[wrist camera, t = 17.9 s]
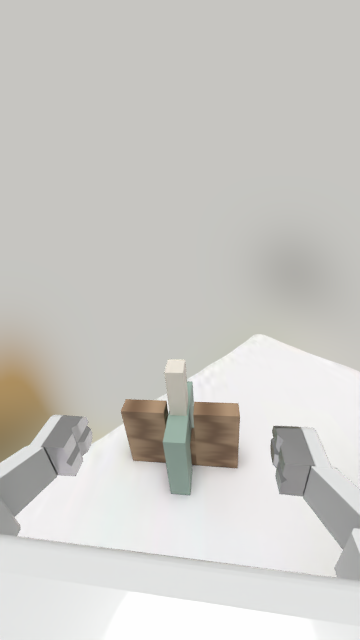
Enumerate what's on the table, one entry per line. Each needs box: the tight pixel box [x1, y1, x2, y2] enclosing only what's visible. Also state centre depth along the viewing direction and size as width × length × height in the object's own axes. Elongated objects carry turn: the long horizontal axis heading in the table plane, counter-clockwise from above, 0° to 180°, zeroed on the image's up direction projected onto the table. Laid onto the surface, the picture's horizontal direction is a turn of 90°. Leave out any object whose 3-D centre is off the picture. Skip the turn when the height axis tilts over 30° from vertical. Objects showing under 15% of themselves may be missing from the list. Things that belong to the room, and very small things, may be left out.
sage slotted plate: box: [163, 359, 194, 495], centre depth 39 cm, size 3×12×20 cm, turn 173°
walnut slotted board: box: [121, 399, 240, 468], centre depth 41 cm, size 18×2×12 cm, turn 83°
